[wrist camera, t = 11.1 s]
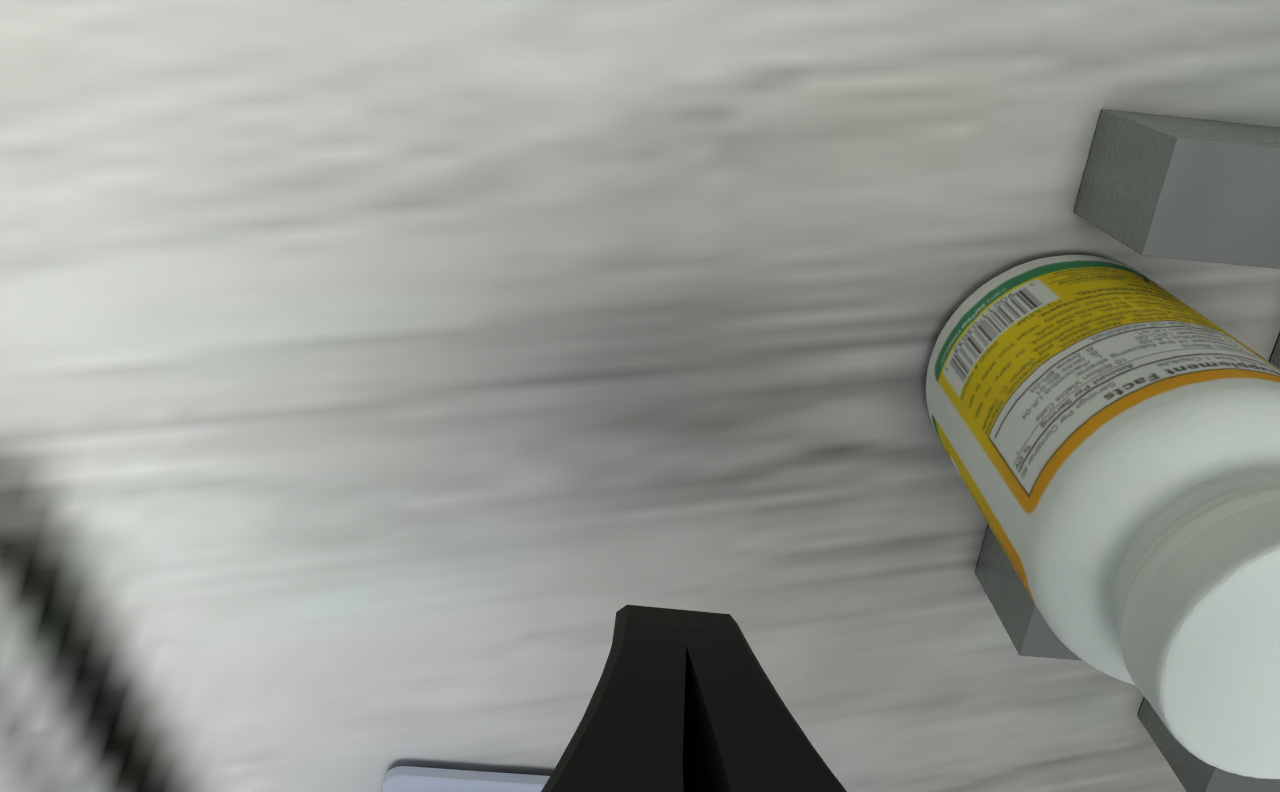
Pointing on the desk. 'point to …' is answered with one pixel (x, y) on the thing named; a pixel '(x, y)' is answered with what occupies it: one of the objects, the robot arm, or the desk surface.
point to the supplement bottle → (1129, 487)
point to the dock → (1171, 228)
